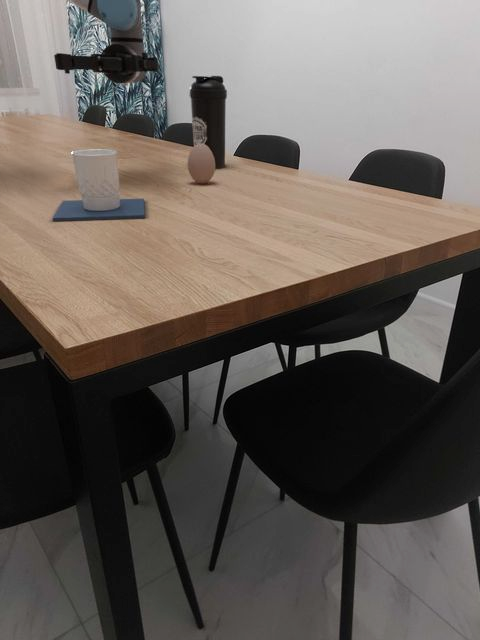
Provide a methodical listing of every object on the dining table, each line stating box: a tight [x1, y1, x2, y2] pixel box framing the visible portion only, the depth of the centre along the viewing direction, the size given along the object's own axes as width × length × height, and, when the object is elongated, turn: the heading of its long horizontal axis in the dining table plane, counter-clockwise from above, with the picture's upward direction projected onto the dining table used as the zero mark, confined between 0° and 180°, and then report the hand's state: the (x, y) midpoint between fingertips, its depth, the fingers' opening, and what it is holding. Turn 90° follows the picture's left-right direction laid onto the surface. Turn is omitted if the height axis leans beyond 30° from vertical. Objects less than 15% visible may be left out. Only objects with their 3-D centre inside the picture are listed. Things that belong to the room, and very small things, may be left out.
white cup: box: [71, 148, 120, 211], centre depth 94 cm, size 8×8×10 cm
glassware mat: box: [52, 198, 146, 222], centre depth 97 cm, size 16×14×1 cm
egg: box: [187, 143, 216, 185], centre depth 120 cm, size 7×7×9 cm
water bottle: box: [188, 75, 228, 170], centre depth 139 cm, size 10×10×23 cm
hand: (96, 62), depth 93 cm, fingers open, 13 cm apart
